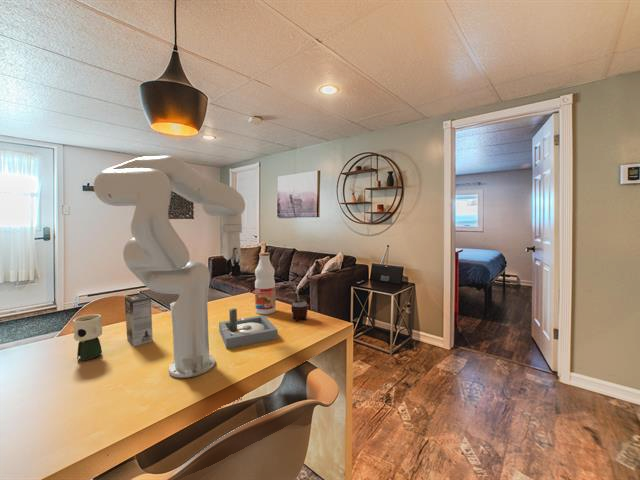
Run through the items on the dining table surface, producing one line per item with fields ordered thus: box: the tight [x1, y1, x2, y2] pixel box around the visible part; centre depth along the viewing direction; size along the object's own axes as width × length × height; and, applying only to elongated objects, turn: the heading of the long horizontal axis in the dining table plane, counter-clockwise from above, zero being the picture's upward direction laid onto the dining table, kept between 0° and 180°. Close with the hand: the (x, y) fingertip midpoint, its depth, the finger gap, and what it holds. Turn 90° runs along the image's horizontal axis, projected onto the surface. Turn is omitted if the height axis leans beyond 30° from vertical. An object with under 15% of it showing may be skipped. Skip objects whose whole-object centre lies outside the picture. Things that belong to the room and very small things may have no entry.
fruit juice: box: [254, 251, 277, 315], centre depth 138 cm, size 9×9×28 cm
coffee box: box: [124, 293, 154, 347], centre depth 106 cm, size 9×6×16 cm
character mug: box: [72, 313, 103, 361], centre depth 93 cm, size 11×7×13 cm, turn 70°
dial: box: [229, 308, 264, 336], centre depth 111 cm, size 13×13×9 cm
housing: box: [218, 314, 279, 350], centre depth 111 cm, size 18×18×4 cm
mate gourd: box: [290, 282, 309, 323], centre depth 127 cm, size 8×8×15 cm
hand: (233, 273), depth 112 cm, fingers open, 9 cm apart
